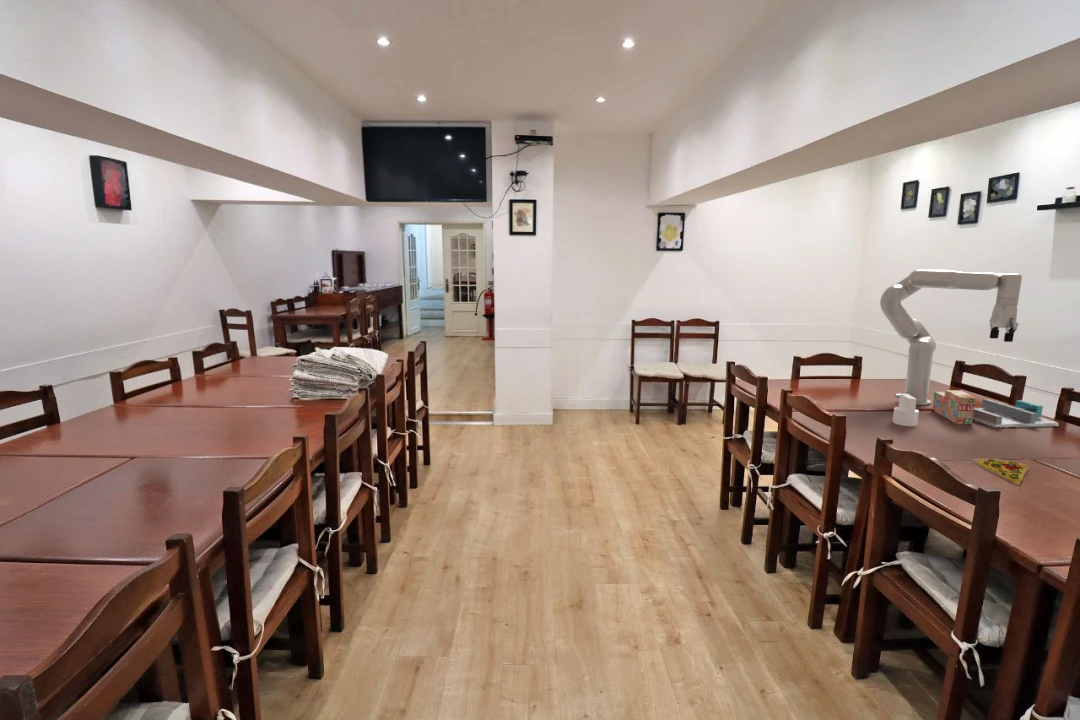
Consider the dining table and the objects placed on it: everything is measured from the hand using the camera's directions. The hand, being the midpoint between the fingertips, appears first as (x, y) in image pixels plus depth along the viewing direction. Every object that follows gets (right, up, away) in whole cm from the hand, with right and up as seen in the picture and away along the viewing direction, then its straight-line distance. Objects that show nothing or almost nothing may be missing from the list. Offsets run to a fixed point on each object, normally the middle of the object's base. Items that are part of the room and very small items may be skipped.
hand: (1000, 340), depth 247 cm
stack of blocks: (-23, -35, -1) cm, 42 cm away
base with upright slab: (-48, -36, -8) cm, 61 cm away
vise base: (-3, -35, -4) cm, 35 cm away
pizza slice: (-51, -48, -63) cm, 94 cm away
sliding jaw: (+4, -33, -3) cm, 33 cm away
